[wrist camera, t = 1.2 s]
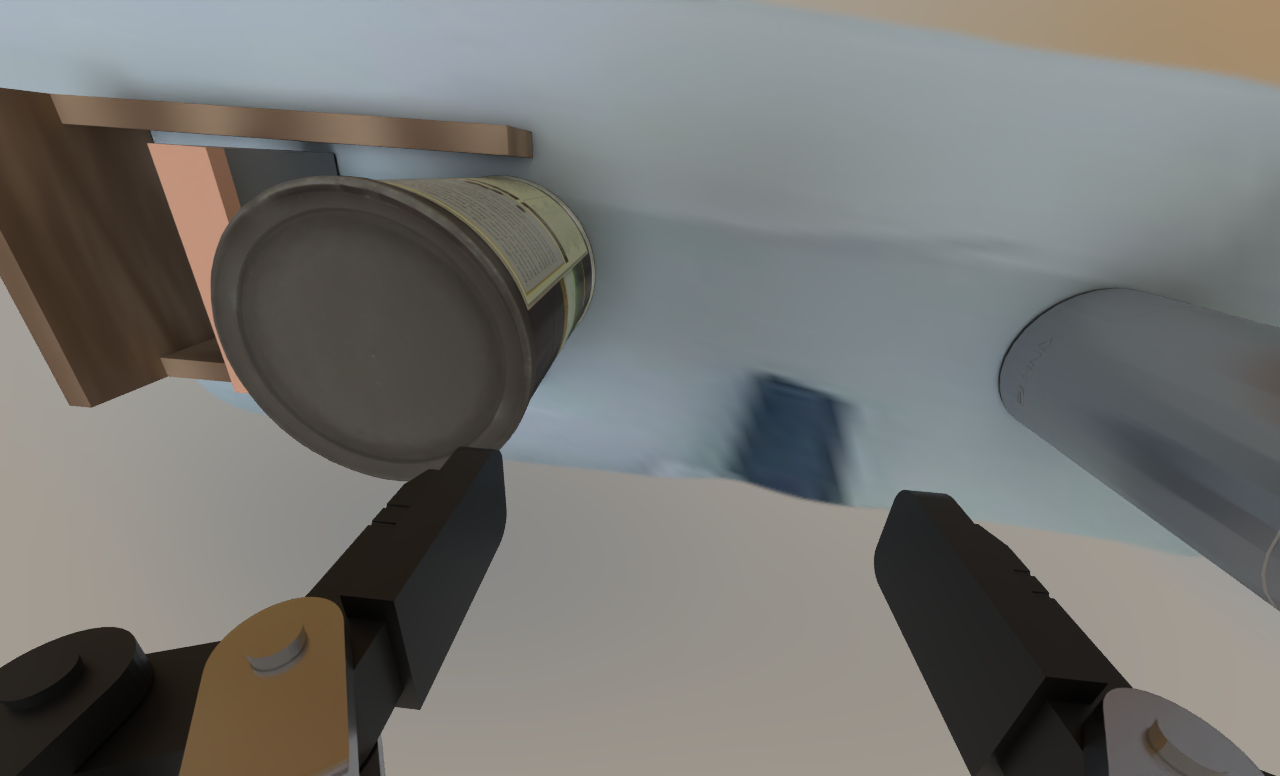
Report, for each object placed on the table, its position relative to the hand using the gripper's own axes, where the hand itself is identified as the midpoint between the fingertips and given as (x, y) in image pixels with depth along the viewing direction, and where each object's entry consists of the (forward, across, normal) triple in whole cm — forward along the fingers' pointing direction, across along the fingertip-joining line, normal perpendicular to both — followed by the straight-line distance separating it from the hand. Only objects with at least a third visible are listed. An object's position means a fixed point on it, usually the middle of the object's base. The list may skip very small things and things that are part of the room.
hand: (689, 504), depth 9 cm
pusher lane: (+20, +20, 0) cm, 28 cm away
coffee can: (+20, +10, 0) cm, 22 cm away
